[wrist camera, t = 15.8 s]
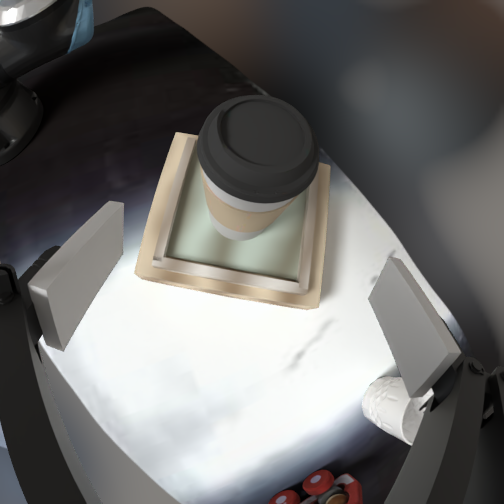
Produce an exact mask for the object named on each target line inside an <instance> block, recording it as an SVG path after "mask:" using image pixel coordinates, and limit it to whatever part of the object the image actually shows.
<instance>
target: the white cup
mask: <svg viewBox="0 0 504 504" xmlns="http://www.w3.org/2000/svg"><path fill="white" fill-rule="evenodd" d="M433 394H434V393H433V391H432V388H431V389H430V390H429V391H428V392H427V393H426V394H425V395H424V396H423V397H417V398H409V395H408V392H407V390H406V387H405V384H404V382H403V379H402V377H389V376H386V377H382V378H379V379H377V380H375V381H374V382H373V383H372V384H371V385H370V386H369V387H368V389H367V390H366V392H365V394H364V396H363V402H362V409H363V413H364V416H365V417H366V418H367V419H368V420H369V421H371V422H372V423H374V424H376V425H377V426H378V427H380V428H381V429H383V430H384V431H386V432H388V433H389V434H391V435H393V436H395V437H397V438H398V439H400V440H402V441H404V442H406V443H407V444H409V445H412V444H413V442H414V439H415V437H416V434H417V432H418V429H419V426H420V424H421V421H422V418H423V415H424V413H423V412H424V411H425V409H426V407H425V408H423V409H422V410H421V411H419V408H420V407H421V406H422V405H423V404H424V403H425V402H426V401H427V400H428V399H429V398H430V397H431V396H432V395H433Z"/></svg>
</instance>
